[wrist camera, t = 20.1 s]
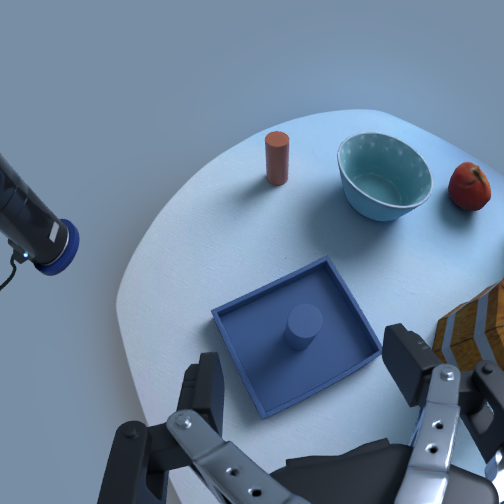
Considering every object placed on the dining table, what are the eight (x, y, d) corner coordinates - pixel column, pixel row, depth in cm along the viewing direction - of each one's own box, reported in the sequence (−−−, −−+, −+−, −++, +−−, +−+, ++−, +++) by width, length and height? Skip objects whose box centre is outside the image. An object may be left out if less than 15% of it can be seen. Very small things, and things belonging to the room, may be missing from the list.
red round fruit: (473, 185, 48) (490, 160, 40) (483, 222, 44) (504, 198, 36) (438, 176, 49) (453, 148, 42) (447, 214, 45) (466, 187, 38)
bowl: (349, 152, 52) (357, 118, 45) (423, 189, 48) (440, 159, 40) (314, 208, 47) (320, 174, 39) (401, 254, 42) (422, 226, 35)
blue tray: (262, 417, 33) (262, 419, 31) (214, 315, 40) (210, 310, 38) (378, 354, 36) (385, 351, 33) (324, 263, 42) (327, 255, 40)
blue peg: (292, 355, 36) (297, 344, 28) (279, 331, 38) (281, 313, 30) (316, 342, 37) (329, 327, 29) (303, 319, 38) (312, 297, 30)
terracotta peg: (272, 188, 49) (272, 149, 41) (263, 174, 51) (260, 135, 43) (291, 180, 50) (293, 142, 42) (281, 167, 51) (281, 128, 43)
